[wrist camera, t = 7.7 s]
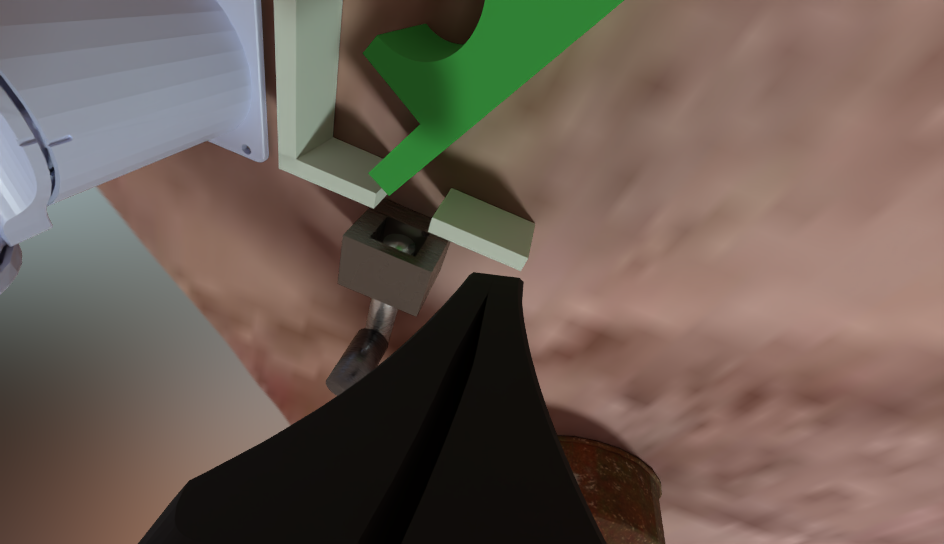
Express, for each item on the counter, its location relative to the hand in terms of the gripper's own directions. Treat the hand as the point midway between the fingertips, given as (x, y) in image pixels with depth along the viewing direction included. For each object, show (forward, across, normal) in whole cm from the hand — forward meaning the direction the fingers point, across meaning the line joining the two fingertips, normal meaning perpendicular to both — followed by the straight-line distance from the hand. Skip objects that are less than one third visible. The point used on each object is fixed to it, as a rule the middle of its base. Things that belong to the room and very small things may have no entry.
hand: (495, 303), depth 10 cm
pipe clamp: (+9, +2, -5) cm, 11 cm away
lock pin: (+7, +7, +7) cm, 13 cm away
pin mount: (+9, +6, +4) cm, 12 cm away
